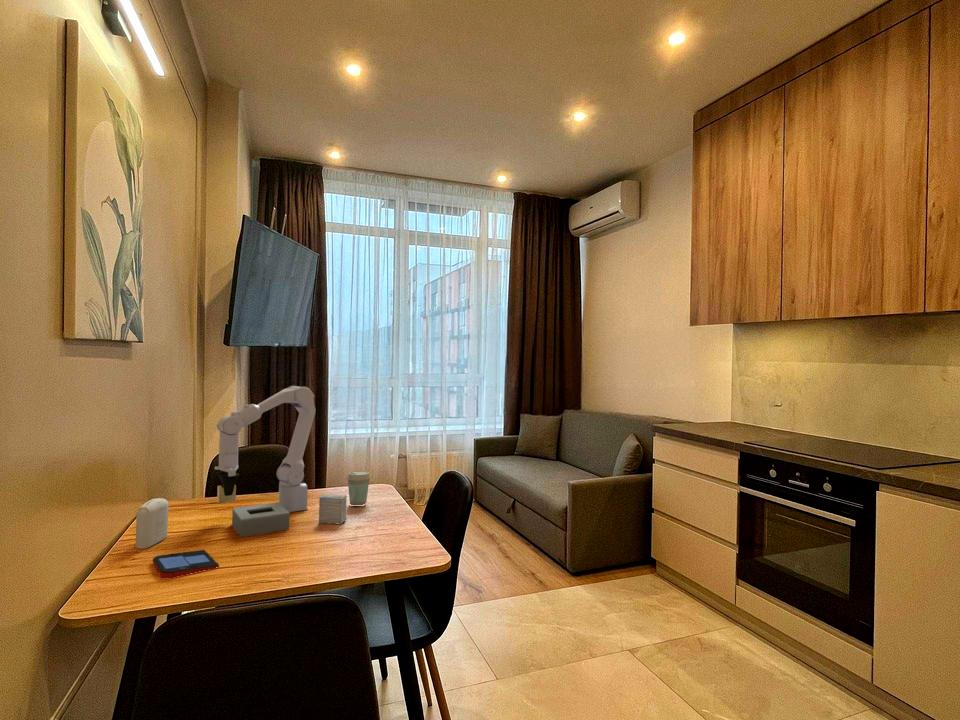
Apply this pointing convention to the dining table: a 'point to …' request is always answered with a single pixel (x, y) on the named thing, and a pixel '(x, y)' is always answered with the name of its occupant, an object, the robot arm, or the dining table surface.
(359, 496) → the coffee cup
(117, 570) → the dining table surface
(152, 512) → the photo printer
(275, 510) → the money box
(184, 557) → the game console
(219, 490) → the wooden block
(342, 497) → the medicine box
